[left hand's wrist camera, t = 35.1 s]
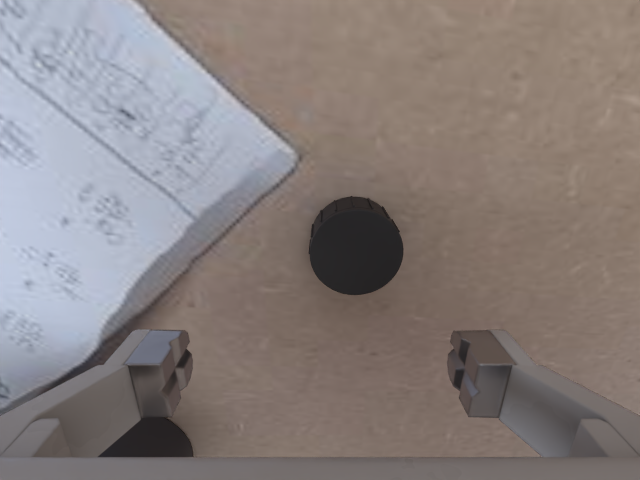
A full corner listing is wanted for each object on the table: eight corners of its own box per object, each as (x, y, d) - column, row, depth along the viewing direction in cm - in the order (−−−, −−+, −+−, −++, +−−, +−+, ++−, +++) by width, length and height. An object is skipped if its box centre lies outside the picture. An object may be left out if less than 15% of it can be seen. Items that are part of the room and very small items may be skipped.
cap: (316, 190, 16) (315, 202, 14) (402, 202, 16) (414, 215, 14) (306, 268, 17) (303, 290, 15) (385, 278, 17) (392, 300, 15)
